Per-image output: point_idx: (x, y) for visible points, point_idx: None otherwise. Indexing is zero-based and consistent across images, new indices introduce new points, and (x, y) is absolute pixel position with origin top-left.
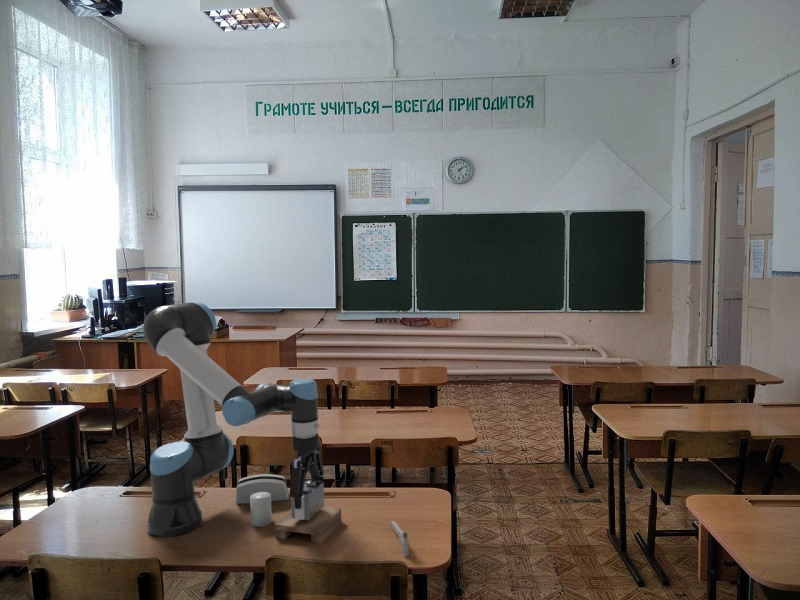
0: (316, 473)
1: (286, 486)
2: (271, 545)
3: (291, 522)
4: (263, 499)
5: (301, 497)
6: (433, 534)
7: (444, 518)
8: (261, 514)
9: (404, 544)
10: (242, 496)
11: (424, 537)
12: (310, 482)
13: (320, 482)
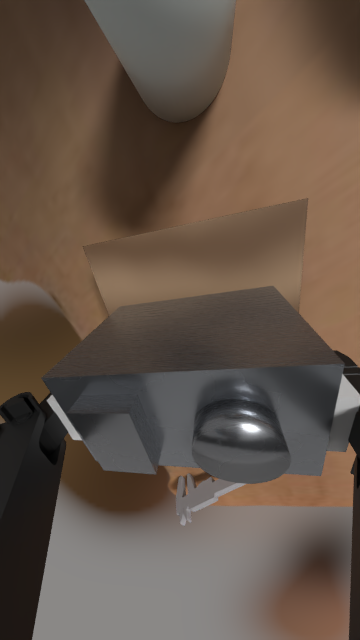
0: (352, 565)
1: None
2: (76, 259)
3: (129, 296)
4: None
5: (72, 430)
6: (266, 496)
7: (338, 505)
8: (123, 64)
9: (176, 501)
10: None
11: (251, 488)
12: (224, 462)
13: (308, 464)
